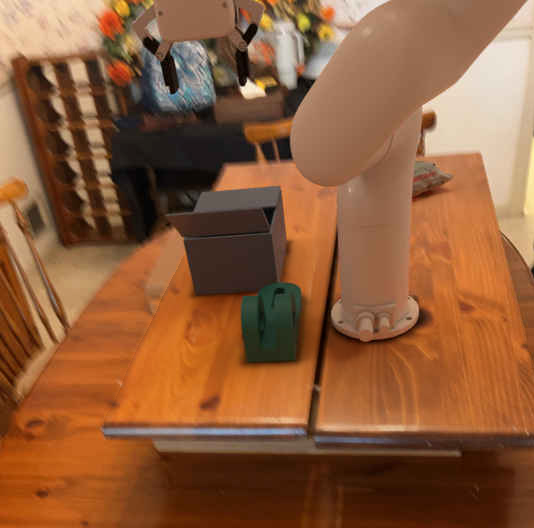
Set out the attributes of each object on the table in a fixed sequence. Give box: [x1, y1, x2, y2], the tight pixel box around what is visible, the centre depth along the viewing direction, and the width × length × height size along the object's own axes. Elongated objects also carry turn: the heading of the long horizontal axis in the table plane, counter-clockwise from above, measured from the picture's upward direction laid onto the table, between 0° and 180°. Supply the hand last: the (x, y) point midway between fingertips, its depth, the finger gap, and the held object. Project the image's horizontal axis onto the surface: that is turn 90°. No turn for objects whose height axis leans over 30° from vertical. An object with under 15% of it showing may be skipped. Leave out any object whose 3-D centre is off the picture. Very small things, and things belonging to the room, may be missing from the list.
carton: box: [182, 185, 288, 296], centre depth 106 cm, size 17×14×10 cm
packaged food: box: [412, 160, 454, 198], centre depth 121 cm, size 9×12×5 cm
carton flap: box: [165, 206, 271, 238], centre depth 93 cm, size 8×14×1 cm
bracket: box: [240, 281, 303, 363], centre depth 93 cm, size 18×7×8 cm, turn 174°
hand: (209, 87), depth 88 cm, fingers open, 9 cm apart
